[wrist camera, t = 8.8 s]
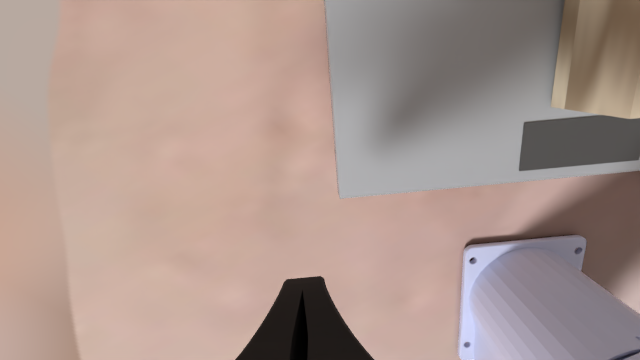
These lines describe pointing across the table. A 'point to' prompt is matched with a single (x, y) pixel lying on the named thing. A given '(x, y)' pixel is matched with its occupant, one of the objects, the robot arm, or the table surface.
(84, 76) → the table surface
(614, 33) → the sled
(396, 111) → the plate
